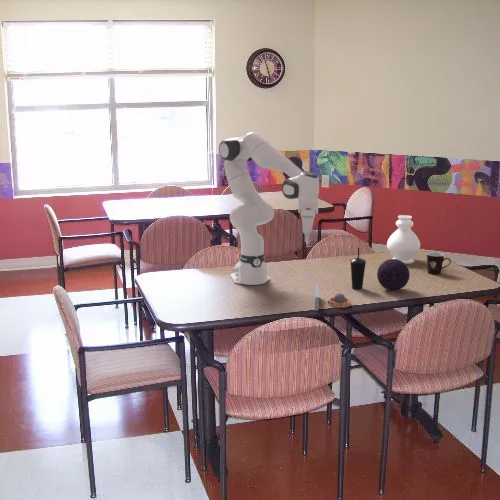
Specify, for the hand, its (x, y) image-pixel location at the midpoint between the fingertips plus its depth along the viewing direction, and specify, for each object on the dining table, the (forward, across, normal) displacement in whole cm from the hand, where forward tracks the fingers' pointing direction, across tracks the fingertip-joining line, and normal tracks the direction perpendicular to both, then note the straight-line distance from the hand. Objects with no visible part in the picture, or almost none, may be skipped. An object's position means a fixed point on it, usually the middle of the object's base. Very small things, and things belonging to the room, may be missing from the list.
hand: (306, 239), depth 316 cm
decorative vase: (+28, -72, +53) cm, 93 cm away
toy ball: (+27, -15, +42) cm, 52 cm away
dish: (+27, +9, +16) cm, 32 cm away
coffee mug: (+27, -46, +67) cm, 86 cm away
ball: (+24, +10, +16) cm, 30 cm away
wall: (+27, +9, +6) cm, 29 cm away
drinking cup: (+28, -17, +25) cm, 41 cm away
